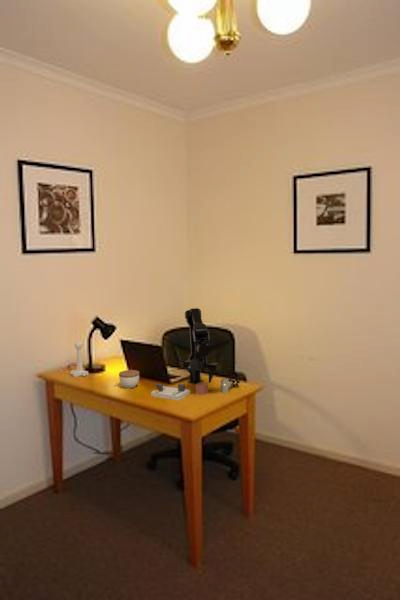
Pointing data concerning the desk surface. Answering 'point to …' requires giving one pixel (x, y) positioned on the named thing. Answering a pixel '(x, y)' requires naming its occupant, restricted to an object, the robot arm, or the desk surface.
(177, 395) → the panel
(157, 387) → the lever tagged
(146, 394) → the desk surface
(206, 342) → the robot arm
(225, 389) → the valve
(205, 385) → the block
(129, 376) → the lidded jar
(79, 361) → the joystick
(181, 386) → the lever
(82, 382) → the desk surface
